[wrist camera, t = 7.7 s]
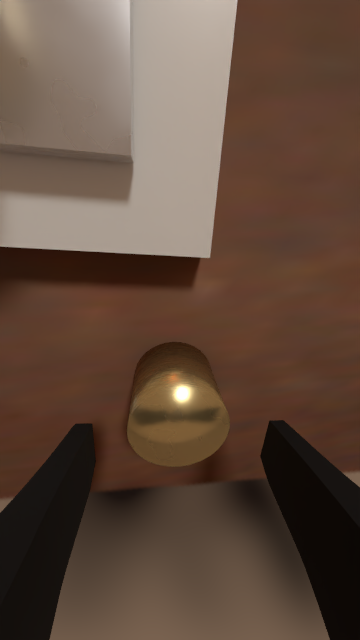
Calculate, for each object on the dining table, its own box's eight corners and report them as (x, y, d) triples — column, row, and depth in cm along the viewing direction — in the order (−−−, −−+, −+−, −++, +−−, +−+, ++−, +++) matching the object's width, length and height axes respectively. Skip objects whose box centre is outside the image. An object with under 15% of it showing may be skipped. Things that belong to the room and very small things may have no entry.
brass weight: (135, 406, 15) (127, 468, 11) (134, 341, 13) (126, 388, 9) (206, 405, 15) (222, 464, 11) (214, 342, 13) (236, 387, 10)
